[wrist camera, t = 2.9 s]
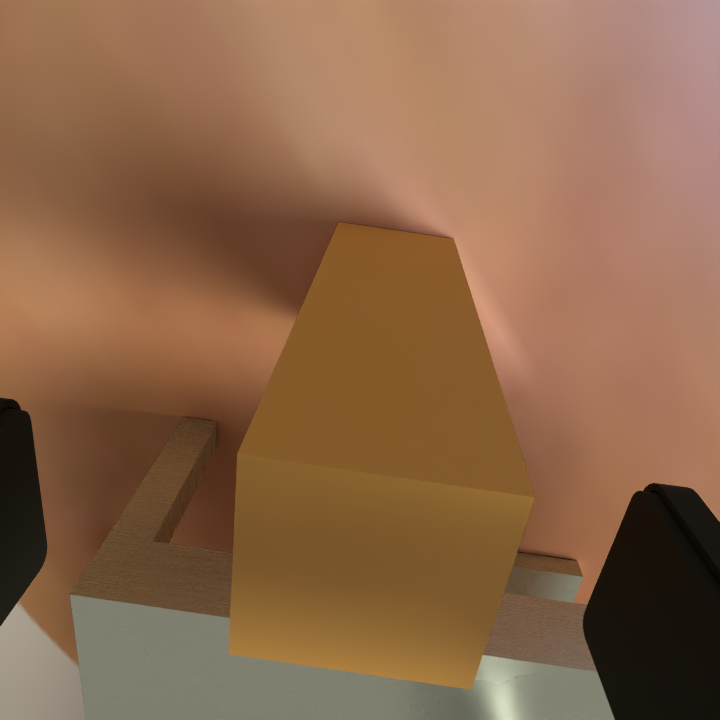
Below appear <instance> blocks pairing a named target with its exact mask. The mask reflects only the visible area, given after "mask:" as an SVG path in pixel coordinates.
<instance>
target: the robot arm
mask: <svg viewBox="0 0 720 720" xmlns="http://www.w3.org/2000/svg"><path fill="white" fill-rule="evenodd" d="M46 554H47V539H46V532H45V524H44V516H43V509H42V501H41V493H40V486H39V478H38V470H37V463H36V455H35V447H34V440H33V432H32V424H31V419H30V415H29V414H28V412H26V411H23V410H21V408H20V406H19V404H18V403H17V402H16V401H15V400H13V399H6V398H0V626H1V625H2V623H3V622H4V620H5V619H6V617H7V616H8V615H9V613H10V612H11V610H12V609H13V608H14V606H15V605H16V603H17V602H18V601H19V599H20V598H21V596H22V595H23V594H24V592H25V591H26V589H27V588H28V587H29V585H30V584H31V582H32V581H33V579H34V578H35V577H36V575H37V574H38V572H39V571H40V569H41V568H42V566H43V563H44V561H45V558H46ZM583 632H584V636H585V640H586V643H587V645H588V648H589V651H590V653H591V656H592V659H593V662H594V664H595V667H596V670H597V673H598V675H599V678H600V681H601V683H602V686H603V689H604V692H605V694H606V697H607V700H608V703H609V705H610V708H611V711H612V713H613V716H614V719H615V720H720V522H719V521H718V520H717V518H716V517H715V516H714V515H713V513H712V512H711V511H710V509H709V508H708V507H707V505H706V504H705V503H704V502H703V500H702V499H701V498H700V496H699V495H698V494H697V493H696V492H695V491H694V490H693V489H691V488H688V487H680V486H672V485H665V484H657V483H652V484H649V485H648V486H647V487H646V488H645V489H644V491H637V492H636V493H635V494H634V495H633V497H632V498H631V501H630V503H629V506H628V508H627V510H626V513H625V515H624V518H623V520H622V523H621V525H620V527H619V530H618V532H617V535H616V537H615V539H614V542H613V544H612V547H611V549H610V552H609V554H608V556H607V559H606V561H605V564H604V566H603V568H602V571H601V573H600V576H599V578H598V580H597V583H596V585H595V588H594V590H593V593H592V595H591V597H590V600H589V602H588V605H587V607H586V609H585V612H584V616H583Z"/></svg>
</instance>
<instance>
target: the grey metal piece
mask: <svg viewBox="0 0 720 720" xmlns="http://www.w3.org/2000/svg"><path fill="white" fill-rule="evenodd" d="M216 432H217V422H215V421H208V420H201V419H195V418H188V417H183V419H182V420H181V422H180V424H179V425H178V427H177V428H176V430H175V431H174V433H173V434H172V436H171V438H170V439H169V441H168V442H167V444H166V445H165V447H164V448H163V450H162V452H161V453H160V455H159V456H158V458H157V459H156V461H155V463H154V464H153V466H152V467H151V469H150V470H149V472H148V473H147V475H146V477H145V478H144V480H143V481H142V483H141V484H140V486H139V487H138V489H137V491H136V492H135V494H134V495H133V497H132V498H131V500H130V501H129V503H128V505H127V506H126V508H125V509H124V511H123V512H122V514H121V515H120V517H119V519H118V520H117V522H116V523H115V525H114V526H113V528H112V530H111V531H110V533H109V534H108V536H107V537H106V539H105V540H104V542H103V544H102V545H101V547H100V548H99V550H98V551H97V553H96V554H95V556H94V558H93V559H92V561H91V562H90V564H89V565H88V567H87V568H86V570H85V572H84V573H83V575H82V576H81V578H80V579H79V581H78V582H77V584H76V586H75V587H74V589H73V590H72V592H71V593H70V600H71V608H72V616H73V623H74V631H75V639H76V647H77V654H78V662H79V670H80V677H81V685H82V693H83V701H84V709H85V717H86V720H615V719H614V716H613V713H612V711H611V708H610V705H609V703H608V700H607V697H606V694H605V692H604V689H603V686H602V683H601V681H600V678H599V675H598V673H597V670H596V667H595V664H594V662H593V659H592V656H591V653H590V651H589V648H588V645H587V643H586V640H585V636H584V632H583V616H584V612H585V609H586V607H587V605H584V604H577V603H573V600H574V598H575V596H576V593H577V591H578V588H579V586H580V583H581V581H582V579H583V575H582V572H581V569H580V567H579V564H578V561H574V560H567V559H560V558H553V557H546V556H539V555H533V554H526V553H519V552H517V555H516V558H515V561H514V564H513V567H512V570H511V573H510V576H509V579H508V582H507V585H506V588H505V591H504V594H503V597H502V600H501V602H500V605H499V608H498V611H497V614H496V617H495V620H494V623H493V626H492V629H491V632H490V635H489V638H488V641H487V644H486V647H485V650H484V653H483V656H482V659H481V662H480V665H479V668H478V671H477V674H476V677H475V680H474V683H473V686H472V689H471V690H469V689H463V688H456V687H449V686H442V685H435V684H429V683H422V682H415V681H408V680H401V679H395V678H388V677H381V676H374V675H367V674H361V673H354V672H347V671H340V670H334V669H327V668H320V667H313V666H306V665H300V664H293V663H286V662H279V661H272V660H266V659H259V658H252V657H245V656H238V655H232V654H228V653H229V630H230V607H231V585H232V562H233V553H229V552H223V551H216V550H209V549H202V548H195V547H188V546H182V545H175V544H169V542H170V540H171V538H172V536H173V534H174V532H175V530H176V528H177V526H178V524H179V522H180V520H181V518H182V516H183V514H184V512H185V510H186V508H187V506H188V504H189V502H190V500H191V498H192V496H193V494H194V492H195V490H196V488H197V486H198V484H199V482H200V480H201V478H202V476H203V474H204V472H205V470H206V468H207V466H208V464H209V462H210V460H211V458H212V456H213V454H214V452H215V450H216Z"/></svg>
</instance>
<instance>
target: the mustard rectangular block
mask: <svg viewBox="0 0 720 720" xmlns="http://www.w3.org/2000/svg"><path fill="white" fill-rule="evenodd" d="M535 498H536V497H535V494H534V491H533V487H532V484H531V481H530V478H529V475H528V472H527V468H526V465H525V462H524V459H523V456H522V453H521V450H520V446H519V443H518V440H517V437H516V434H515V431H514V427H513V424H512V421H511V418H510V415H509V412H508V408H507V405H506V402H505V399H504V396H503V393H502V390H501V386H500V383H499V380H498V377H497V374H496V371H495V367H494V364H493V361H492V358H491V355H490V352H489V348H488V345H487V342H486V339H485V336H484V333H483V330H482V326H481V323H480V320H479V317H478V314H477V311H476V307H475V304H474V301H473V298H472V295H471V292H470V288H469V285H468V282H467V279H466V276H465V273H464V270H463V266H462V263H461V260H460V257H459V254H458V251H457V247H456V244H455V241H454V239H452V238H445V237H438V236H431V235H424V234H417V233H410V232H404V231H397V230H390V229H383V228H376V227H369V226H362V225H356V224H349V223H342V222H339V223H338V225H337V227H336V229H335V232H334V234H333V236H332V239H331V241H330V243H329V245H328V248H327V250H326V252H325V255H324V257H323V259H322V261H321V264H320V266H319V268H318V271H317V273H316V275H315V277H314V280H313V282H312V284H311V287H310V289H309V291H308V293H307V296H306V298H305V300H304V303H303V305H302V307H301V309H300V312H299V314H298V316H297V319H296V321H295V323H294V325H293V328H292V330H291V332H290V334H289V337H288V339H287V341H286V344H285V346H284V348H283V350H282V353H281V355H280V357H279V360H278V362H277V364H276V366H275V369H274V371H273V373H272V376H271V378H270V380H269V382H268V385H267V387H266V389H265V392H264V394H263V396H262V398H261V401H260V403H259V405H258V408H257V410H256V412H255V414H254V417H253V419H252V421H251V424H250V426H249V428H248V430H247V433H246V435H245V437H244V439H243V442H242V444H241V446H240V449H239V451H238V453H237V471H236V494H235V516H234V539H233V562H232V585H231V607H230V630H229V653H228V654H232V655H238V656H245V657H252V658H259V659H266V660H272V661H279V662H286V663H293V664H300V665H306V666H313V667H320V668H327V669H334V670H340V671H347V672H354V673H361V674H367V675H374V676H381V677H388V678H395V679H401V680H408V681H415V682H422V683H429V684H435V685H442V686H449V687H456V688H463V689H469V690H471V689H472V686H473V683H474V680H475V677H476V674H477V671H478V668H479V665H480V662H481V659H482V656H483V653H484V650H485V647H486V644H487V641H488V638H489V635H490V632H491V629H492V626H493V623H494V620H495V617H496V614H497V611H498V608H499V605H500V602H501V600H502V597H503V594H504V591H505V588H506V585H507V582H508V579H509V576H510V573H511V570H512V567H513V564H514V561H515V558H516V555H517V552H518V549H519V546H520V543H521V540H522V537H523V534H524V531H525V528H526V525H527V522H528V519H529V516H530V513H531V510H532V507H533V504H534V501H535Z"/></svg>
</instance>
